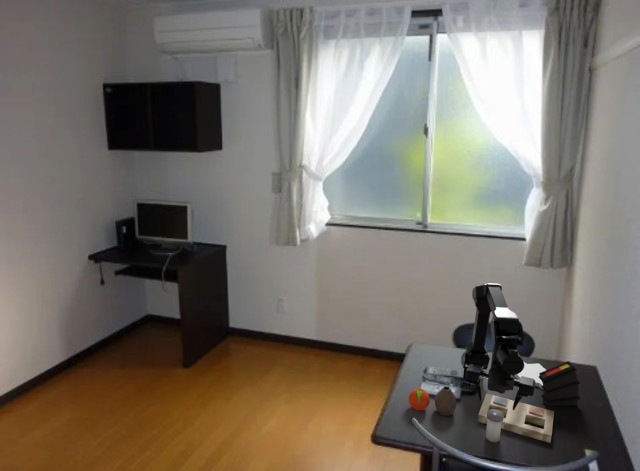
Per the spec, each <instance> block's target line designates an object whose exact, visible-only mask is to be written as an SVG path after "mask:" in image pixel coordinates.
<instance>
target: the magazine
mask: <svg viewBox="0 0 640 471" xmlns="http://www.w3.org/2000/svg"><path fill="white" fill-rule="evenodd" d="M576 372H577V368H576V366H574V364H573V363H572V362H570V361H569V360H567V361H565V362H562V363H560V364H557V365H556V366H554V367H550V368H549V369H546V371H543V372H541V373H539V375H540V376H539V378H540V379H541V381H542V383H543V385H542V386H541V387H542V388H543V389H542V390H543V391H542V392H543V393H542V394H541V395H540V396H541V398H542V402H543V403H544V404H545V406H548V407H549V406H553V407H554V406H558V407H559V406H578V402H579V400H580V399H581V396H580V395H579V391H580V390H579V385H580V384H581V383H580V380H579V379H578V375H577V373H576Z"/></svg>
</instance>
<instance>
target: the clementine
mask: <svg viewBox="0 0 640 471" xmlns="http://www.w3.org/2000/svg"><path fill="white" fill-rule="evenodd" d="M430 401H431V400H430V395H429V393H428V392H427V391H426V390H425V389H423V388H421V387H419V388H413V389H412V390H411V391H410V392H409V395H408V403H409V406H411V408H412V409H414V410H416V411H424V410H425V409H427V408H428V407H429V405H430Z"/></svg>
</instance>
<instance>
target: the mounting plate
mask: <svg viewBox="0 0 640 471" xmlns="http://www.w3.org/2000/svg"><path fill="white" fill-rule="evenodd" d="M546 370H547V369H546V368H544V367H543V366H542V365H541V364H540V363H526V362H525V361H524V369H523V370H522V371H521V372H520V373H519V374H516V375H513V376H514V378H515V379H517V380H520V379H521V376H524V377H528V378H532V379H534V380H535V387H538V388H540V390H543V388H542V387H541V386H542V385H543V383H542V381H541V379H540V378H539V376H540V375H539V373H541V372H543V371H546Z"/></svg>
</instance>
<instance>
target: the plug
mask: <svg viewBox="0 0 640 471" xmlns="http://www.w3.org/2000/svg"><path fill="white" fill-rule="evenodd" d="M486 416H487V418H488V419H487V424H486V430H485V439H486V440H488V441H490V442H492V443H498V442H499V441H500V438H501V433H502V432H501V431H502V430H501V424H502V421H503V419H504V418H505V415H504V414H503V413H502V412H501V411H499V410H496V409H489V410H488V411H487V415H486Z"/></svg>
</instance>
